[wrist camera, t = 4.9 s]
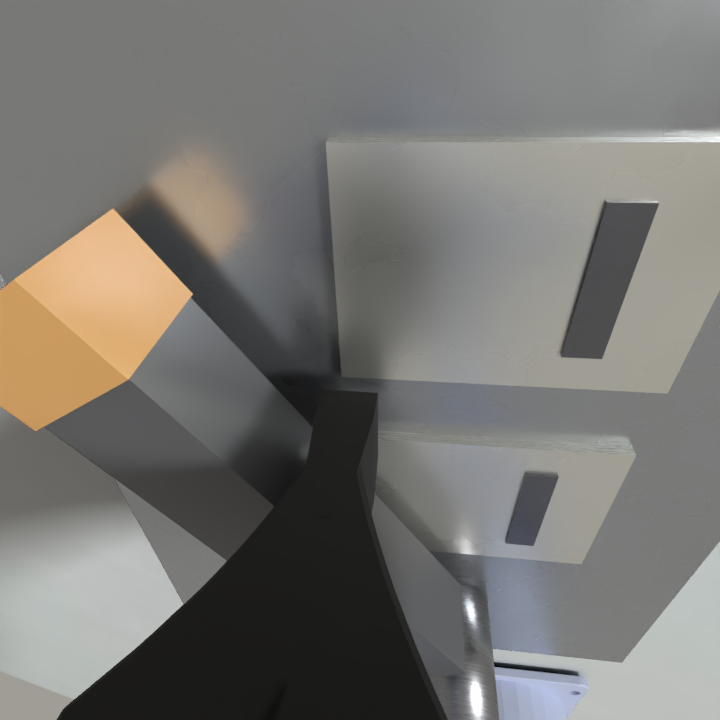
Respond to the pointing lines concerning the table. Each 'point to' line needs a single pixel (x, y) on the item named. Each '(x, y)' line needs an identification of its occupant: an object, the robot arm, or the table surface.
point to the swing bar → (180, 410)
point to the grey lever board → (426, 263)
